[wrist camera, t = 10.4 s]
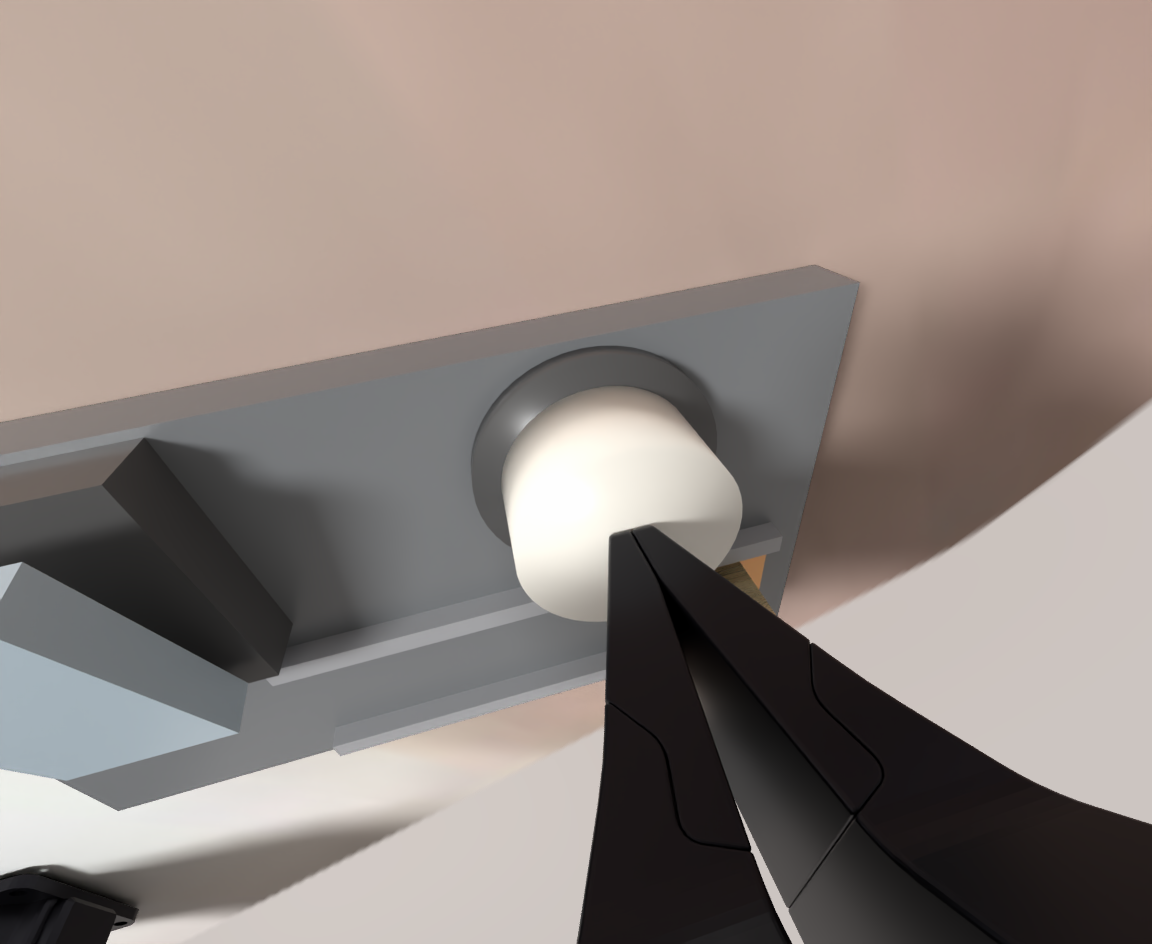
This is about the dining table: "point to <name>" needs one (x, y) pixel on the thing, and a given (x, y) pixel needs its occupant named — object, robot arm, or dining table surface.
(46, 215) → the dining table surface
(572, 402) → the push button
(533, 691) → the control panel
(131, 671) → the rocker switch
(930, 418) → the dining table surface
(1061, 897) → the robot arm
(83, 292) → the dining table surface
